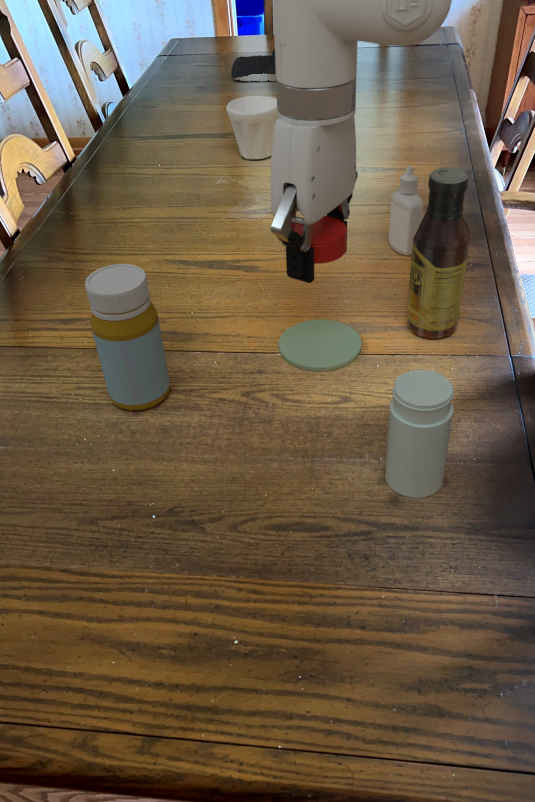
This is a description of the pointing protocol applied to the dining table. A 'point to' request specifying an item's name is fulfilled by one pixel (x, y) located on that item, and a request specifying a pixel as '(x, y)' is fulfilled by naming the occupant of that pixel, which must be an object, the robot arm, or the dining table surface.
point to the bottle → (127, 337)
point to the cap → (327, 239)
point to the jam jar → (418, 433)
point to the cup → (253, 124)
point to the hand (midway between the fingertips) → (317, 263)
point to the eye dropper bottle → (405, 214)
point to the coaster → (320, 345)
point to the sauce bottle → (439, 257)
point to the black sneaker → (254, 65)
